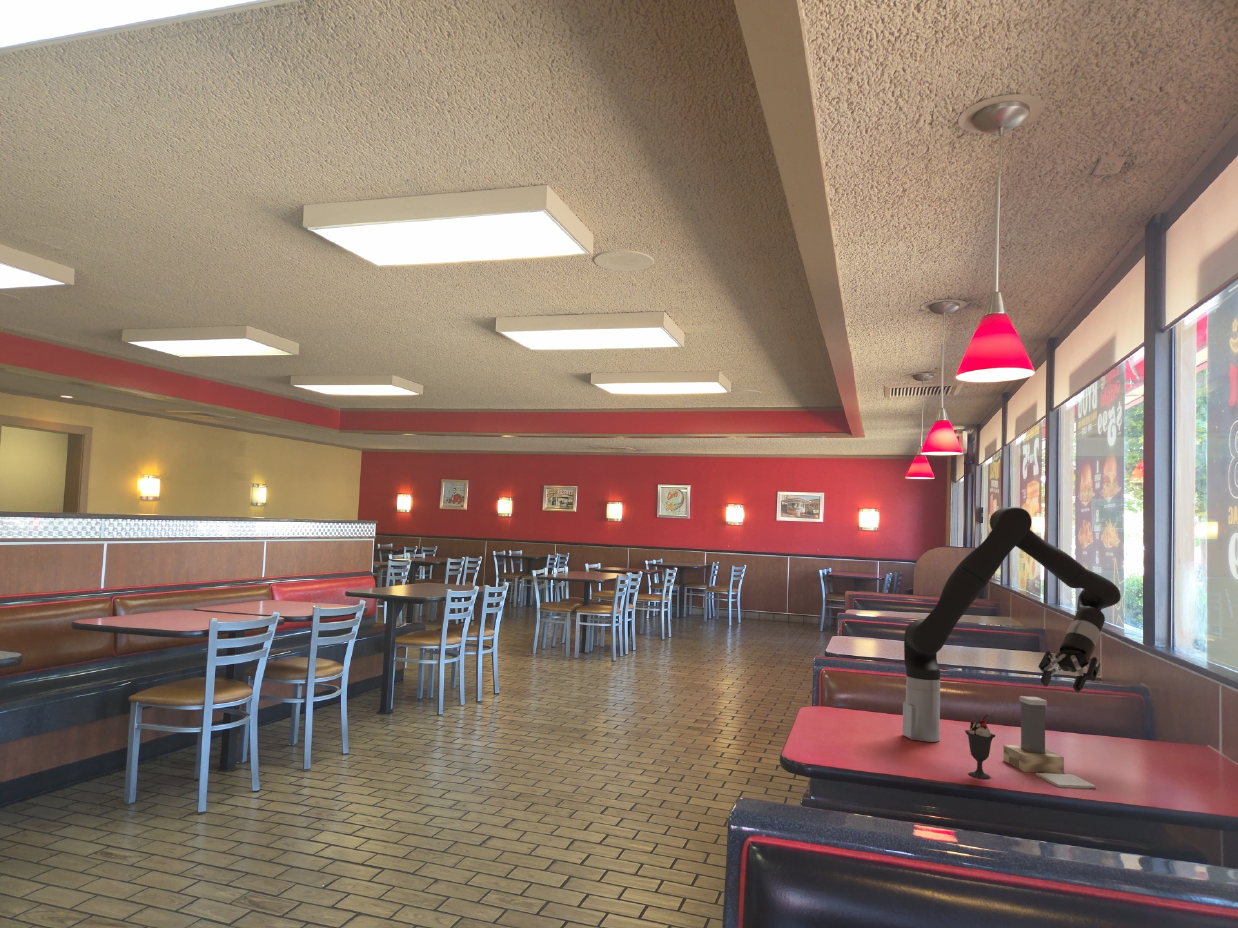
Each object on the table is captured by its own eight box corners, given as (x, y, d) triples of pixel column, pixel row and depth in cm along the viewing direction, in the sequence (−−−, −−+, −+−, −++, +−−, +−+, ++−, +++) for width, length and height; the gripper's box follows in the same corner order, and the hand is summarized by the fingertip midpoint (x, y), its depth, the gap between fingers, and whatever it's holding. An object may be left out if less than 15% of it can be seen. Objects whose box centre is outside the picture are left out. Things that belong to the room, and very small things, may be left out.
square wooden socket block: (1024, 771, 193) (1024, 755, 193) (1003, 760, 203) (1003, 744, 203) (1063, 773, 193) (1063, 756, 193) (1040, 761, 203) (1040, 746, 203)
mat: (1058, 787, 181) (1058, 784, 181) (1036, 775, 190) (1036, 772, 190) (1095, 788, 181) (1095, 785, 182) (1072, 776, 190) (1072, 774, 190)
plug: (1029, 769, 195) (1029, 699, 197) (1019, 763, 200) (1019, 696, 202) (1047, 769, 195) (1046, 700, 197) (1036, 764, 200) (1036, 696, 202)
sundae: (993, 781, 183) (993, 717, 184) (962, 776, 186) (963, 712, 188) (996, 775, 188) (997, 712, 190) (966, 769, 192) (967, 708, 193)
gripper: (1048, 628, 219) (1027, 674, 212) (1101, 634, 206) (1080, 682, 200) (1060, 646, 221) (1039, 691, 214) (1113, 652, 209) (1093, 700, 202)
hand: (1059, 687), depth 207 cm, fingers open, 8 cm apart
